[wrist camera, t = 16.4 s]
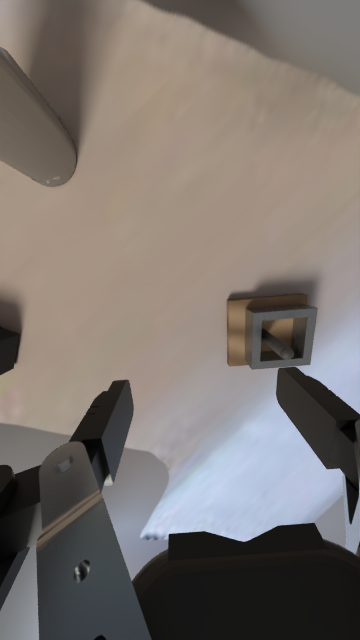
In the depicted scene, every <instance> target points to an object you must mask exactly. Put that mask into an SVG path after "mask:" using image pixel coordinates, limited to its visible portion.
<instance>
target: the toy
mask: <svg viewBox="0 0 360 640" xmlns="http://www.w3.org/2000/svg"><path fill="white" fill-rule="evenodd" d="M18 338H19V334H16V333H14V332H11V331H8V330H6V329H3V328H1V327H0V375H2V374H4V373H6V372H7V371H9V370H11V369H13V368H14V362H15V356H16V350H17V344H18Z"/></svg>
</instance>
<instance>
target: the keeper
mask: <svg viewBox="0 0 360 640" xmlns="http://www.w3.org/2000/svg"><path fill="white" fill-rule="evenodd" d="M307 296H308V295H306V294H293V295H281V296H269V297H256V298H244V299H232V300H227V363H228V365H229V366H241V365H248V363H247V362H246V361H245V310H246V308H253V307H265V306H277V305H290V304H302V303H303V304H307ZM292 328H293V318H291V319H278V320H266V321H262V332H261V351H273V350H274V351H275V352H276V353H277V354H278V355H279V356H280V357H281V358H283V359H285V360H289V359H291V358H293V356H294V351H293V350H292V349H291V339H292Z"/></svg>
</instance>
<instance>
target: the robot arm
mask: <svg viewBox="0 0 360 640" xmlns="http://www.w3.org/2000/svg"><path fill="white" fill-rule="evenodd" d="M0 160H1V161H3V162H4V163H6V164H8V165H9V166H11V167H13V168H14V169H16V170H18V171H19V172H21V173H23V174H25V175H26V176H28V177H30V178H31V179H33V180H35V181H36V182H38V183H40V184H42V185H46V186H53V187H55V186H59V185H62V184H64V183H66V182H67V181H68V180H69V179H70V177H71V176H72V174H73V172H74V170H75V166H76V151H75V146H74V144H73V141H72V139H71V137H70V135H69V134H68V132H67V131H66V130H65V128H64V127H63V126H62V125H61V123H60V119H59V116H58V115H57V113H56V112H55V111H54V110H53V108H52V107H51V106H50V104H49V103H48V102H47V101H46V99H45V98H44V97H43V96H42V94H41V93H40V92H39V91H38V89H37V88H36V87H35V86H34V84H33V83H32V82H31V81H30V79H29V78H28V77H27V75H26V74H25V73H24V72H23V70H22V69H21V68H20V67H19V65H18V64H17V63H16V62H15V60H14V59H13V58H12V57H11V55H10V54H9V53H8V52H7V51H6V50H5V49H4V48H1V47H0ZM276 396H277V400H278V403H279V405H280V406H281V408H282V409H283V410H284V412H285V413H286V414H287V416H288V417H289V418H290V420H291V421H292V423H293V424H294V425H295V427H296V428H297V429H298V431H299V432H300V433H301V435H302V436H303V437H304V439H305V440H306V442H307V443H308V444H309V446H310V447H311V448H312V450H313V451H314V452H315V454H316V455H317V457H318V458H319V459H320V461H321V462H322V463H323V465H324V466H325V467H326V469H337V468H340V469H341V471H342V472H343V473H344V475H343V494H344V507H345V521H346V546H345V548H343V547H342V546H340V545H338V544H335V543H333V542H330V541H328V540H325V539H323V538H322V536H321V534H320V533H319V531H318V529H317V527H316V525H315V523H307V524H294V525H281V526H277V527H275V528H273V529H271V530H269V531H267V532H265V533H263V534H261V535H259V536H257V537H255V538H253V539H251V540H249V541H246V542H242V541H238V540H234V539H230V538H227V537H223V536H220V535H216V534H212V533H209V532H205V531H202V532H189V533H176V534H169V543H168V544H169V545H168V546H169V547H168V549H167V550H165V551H163V552H161V553H160V554H158V555H157V556H156V557H154V558H153V559H151V560H150V561H149V562H148V563H147V564H146V565H145V566H144V567H143V568H142V569H141V570H140V572H139V573H138V574H137V575H136V576H135V578H134V579H133V581H131V578H130V576H129V572H128V569H127V567H126V564H125V561H124V558H123V555H122V552H121V549H120V546H119V543H118V540H117V537H116V534H115V531H114V528H113V525H112V522H111V519H110V517H109V514H108V511H107V508H106V505H105V502H104V499H103V496H102V493H101V491H102V488H103V485H113V483H114V480H115V476H116V473H117V469H118V466H119V462H120V459H121V455H122V452H123V448H124V445H125V441H126V438H127V435H128V431H129V428H130V424H131V421H132V417H133V410H134V406H133V399H132V394H131V388H130V383H129V380H117V381H113V382H112V384H111V386H110V388H109V389H108V391H103V392H102V393H101V394H100V395H98V396H97V397H96V398H95V399H94V401H93V403H92V404H91V406H90V408H89V409H88V411H87V413H86V415H85V416H84V417H83V419H82V421H81V422H80V424H79V426H78V427H77V429H76V431H75V432H74V434H73V436H72V437H71V439H70V441H69V442H68V443H66V444H63V445H61V446H60V447H58V448H56V449H55V450H54V451H52V452H51V453H50V454H49V455H48V456H47V457H46V459H45V460H44V461H43V463H42V464H41V465H39V466H36V467H34V468H31V469H28V470H25V471H23V472H20V473H17V474H14V472H13V470H12V468H11V467H10V466H8V465H0V610H1V608H2V606H3V604H4V602H5V599H6V597H7V595H8V593H9V591H10V589H11V587H12V585H13V583H14V580H15V578H16V576H17V574H18V572H19V570H20V568H21V566H22V564H23V561H24V559H25V557H26V555H27V553H28V551H29V549H30V547H31V546H33V545H35V544H37V548H36V553H37V584H38V585H37V586H38V616H39V640H360V414H359V413H357V412H356V411H355V410H354V409H353V408H351V407H350V406H349V405H348V404H346V403H345V402H344V401H343V400H342V399H340V398H339V397H338V396H336V395H335V394H334V393H333V392H332V391H331V390H328V388H327V387H326V386H324V385H323V384H322V383H321V382H320V381H318V380H316V379H314V378H312V377H310V376H306V375H305V374H304V373H302V372H301V371H300V370H299V369H298V368H296V367H286V368H279V370H278V376H277V389H276Z"/></svg>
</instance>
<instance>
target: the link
mask: <svg viewBox="0 0 360 640" xmlns="http://www.w3.org/2000/svg"><path fill="white" fill-rule="evenodd" d="M316 315H317V308H316V307H312V306H309V305H306V304H303V303H302V304H290V305H277V306H265V307H253V308H246V310H245V361H246V362H247V363H248V365H249V366H250V368H251V369H264V368H276V367H289V366H301V365H310V362H311V354H312V346H313V339H314V331H315V323H316ZM291 318H293V328H292V339H291V349H292V350H293V351H294V356H293V358H291V359H289V360H285V359H283V358H281V357H280V356H279V355H278V354H277V353H276V352H275V351H274V350H273V351H261V332H262V321H266V320H278V319H291Z"/></svg>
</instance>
